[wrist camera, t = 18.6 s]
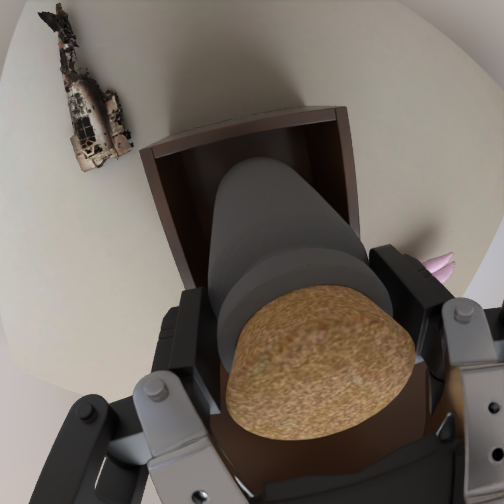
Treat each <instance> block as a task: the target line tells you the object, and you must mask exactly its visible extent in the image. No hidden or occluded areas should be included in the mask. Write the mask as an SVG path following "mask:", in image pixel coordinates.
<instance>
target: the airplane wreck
mask: <svg viewBox="0 0 504 504" xmlns="http://www.w3.org/2000/svg"><path fill="white" fill-rule="evenodd" d="M38 14H39V16H40V18H41V19H42V20H43V21H44V22H45V23H47V25H48V26H49V27H50V28H51V29H52V30H53V31H54V32H55V31H58V38H59V40H58V41H59V43H58V45H59V51H60V57H61V59H60V62H61V68H60V71H61V72H62V75H63V81H64V86H65V90H66V95H67V101H68V106H69V110H70V114H71V119H72V120H73V121H72V125H74V127H75V130H74V131H75V135H74V136H72V137H71V138H70V140H71V143H72V145H73V148H74V152H75V153H76V155H77V157H76V159H77V160H78V162H79V165H80V167H81V170H82V171H84V172H86V171H88V170H91V169H94V168H96V167H97V168H100V167H102V166H103V163H104V162H105V161H106V160H107V159H109V158H110V157H115V158H117V160H118V157H119V156H122V155H124V154H125V153H127V152H129V151H131V149H132V147H134V145H133V142H132V143H131V144H130V143H129V142H128V140H129V139H131V135H130V133H131V132H129V131H128V130H126V129H124V126H123V124H122V125H121V122H122V118H121V117H122V114H121V112H122V109H120V107H119V106H121V105H120V104H119V103H118V99H117V98H118V97H117V96H116V93H115V94H114V93H113V92H111V91H109V90H107V92H106V93H103V92H102V91H101V90H100V89H99V85H97V84H96V81H94V80H93V79H91V78H89V77H88V76H87V75H88V74H89V72H86V73H85V74H83V75H82V74H78V73H77V72H76V71H75V70H77V69H81V68H76V69H75V70H74V64H75V61H74V62H72V57H73V56H72V53H73V52H72V51H73V50H74V53H75V56H76V52H75V49H74V47H77V48H78V47H79V46H78V45H77V43H76V41H75V42H73V41H72V40H71V39H69V38H74V40H75V39H76V38H75V37H76V36H74V35H73V36H72V34H73V31H72V27H71V25H70V23H69V21H68V14H67V13H65V12H64V11H63V10H62V7H61V3H58V4H56V15H55V14H52V13H50V12H42V13H39V12H38ZM68 23H69V24H68ZM67 25H68V26H67ZM65 28H66V29H65ZM69 31H70V32H69ZM69 40H70V41H69ZM72 48H73V49H72ZM69 54H70V56H71V58H70V60H68V57H67V55H69ZM76 59H77V58H76ZM86 70H87V68H86ZM112 93H113V94H112ZM103 96H104V97H105V96H106V97H107V100H106V101H103ZM74 127H73V128H74ZM126 133H127V134H128V135H127V136H126Z"/></svg>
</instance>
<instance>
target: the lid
mask: <svg viewBox="0 0 504 504" xmlns="http://www.w3.org/2000/svg"><path fill="white" fill-rule="evenodd" d="M426 368H427V365H426V363H425V361H422V362H419V363H417V364H414V368H413V371H412V373H411V376H410V377H409V379H408V381H407V383H406V384H405V386H404V387H403V389H402V390H401V391H400V393H399V394H398V395H397V396H396V397H395V398H394V399H393V400H392V401H391V402H390V403H389V404H388V405H387V406H385V407H384V408H383V409H382V410H380V411H379V412H378V413H376V414H375V415H373V416H371V417H370V418H368V419H366V420H365V421H363V422H361V423H359V424H357V425H355V426H353V427H351V428H348V429H346V430H343V431H340V432H337V433H334V434H331V435H328V436H323V437H318V438H313V439H305V440H279V439H271V438H267V437H263V436H259V435H256V434H254V433H252V432H249V431H247V430H245V429H244V428H243V427H241V426H240V425H239V424H237V423H236V422H235V421H234V419H233V418H232V417H231V415H230V414H229V412H228V409H227V406H226V390H227V384H228V379H229V375H230V374H229V373H228V372H227V370H226V369H225V368H224V366H223V364H222V362H221V360H220V390H221V413H219V414H211V415H210V427H211V429H212V430H213V432H214V434H215V435H216V437H217V439H218V440H219V442H220V444H221V445H222V447H223V449H224V450H225V452H226V454H227V455H228V457H229V458H230V460H231V462H232V463H233V465H234V466H235V468H236V469H237V471H238V472H239V474H240V475H241V477H242V478H243V479H244V481H245V482H246V484H247V485H248V486H249V488H250V489H251V490H252V492H253V493H254V495H258V494H260V493H263V492H264V491H263V483H268V482H275V481H281V480H286V479H292V478H297V477H302V476H307V475H336V474H352V473H357V472H360V471H362V470H364V469H366V468H367V467H369V466H371V465H372V464H374V463H375V462H377V461H379V460H380V459H382V458H383V457H385V456H386V455H388V454H390V453H391V452H393V451H394V450H396V449H397V448H399V447H401V446H404V445H406V444H409V443H411V442H413V441H416V440H418V439H420V438H422V435H423V431H424V427H425V420H426V390H425V371H426Z"/></svg>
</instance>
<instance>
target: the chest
mask: <svg viewBox="0 0 504 504" xmlns="http://www.w3.org/2000/svg"><path fill="white" fill-rule="evenodd" d="M139 152H140V156H141V159H142V163H143V166H144V169H145V173H146V176H147V179H148V183H149V186H150V189H151V192H152V195H153V199H154V202H155V205H156V208H157V211H158V214H159V217H160V220H161V223H162V226H163V229H164V232H165V235H166V237H167V240H168V243H169V246H170V249H171V252H172V254H173V257H174V260H175V263H176V265H177V268H178V271H179V273H180V276H181V279H182V281H183V284H184V287H185V289H186V290H189V289H194V288H198V287H204V288H205V289H206V292H207V294H208V270H209V257H210V246H211V235H212V225H213V215H214V207H215V200H216V194H217V189H218V187H219V184H220V182H221V180H222V178H223V177H224V175H225V174H226V173H227V172H228V171H229V170H230V169H231V168H232V167H233V166H234V165H236V164H237V163H239V162H241V161H243V160H246V159H249V158H254V157H269V158H274V159H277V160H279V161H281V162H283V163H285V164H287V165H288V166H289V167H291V168H292V169H293V170H294V171H295V172H297V173H298V174H299V175H300V176H301V177H302V178H303V179H304V180H305V181H306V182H307V183H308V184H309V185H310V186H311V187H312V188H313V189H315V190H316V191H317V192H318V193H319V194H320V196H321V197H322V198H323V199H324V200H325V201H326V202H327V203H328V204H329V205H330V206H331V207H332V208H333V209H334V210H335V211H336V212H337V213H338V214H339V215H340V216H341V217H342V218H343V220H344V221H345V222H346V223H347V224H348V225H349V226H350V227H351V228H352V229H353V230H354V232H355V233H356V235H357V236H358V238H359V239H360V224H359V208H358V195H357V184H356V174H355V164H354V156H353V148H352V140H351V133H350V126H349V119H348V113H347V107H346V106H303V107H296V108H290V109H284V110H278V111H272V112H266V113H261V114H256V115H251V116H246V117H241V118H236V119H232V120H227V121H223V122H219V123H215V124H211V125H207V126H203V127H199V128H195V129H191V130H188V131H184V132H180V133H177V134H173V135H170V136H168V137H165V138H163V139H161V140H159V141H157V142H155V143H153V144H151V145H149V146H147V147H145V148H143V149H141V150H139ZM208 297H209V295H208ZM215 317H216V316H215ZM216 319H217V318H216ZM217 322H218V320H217Z"/></svg>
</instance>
